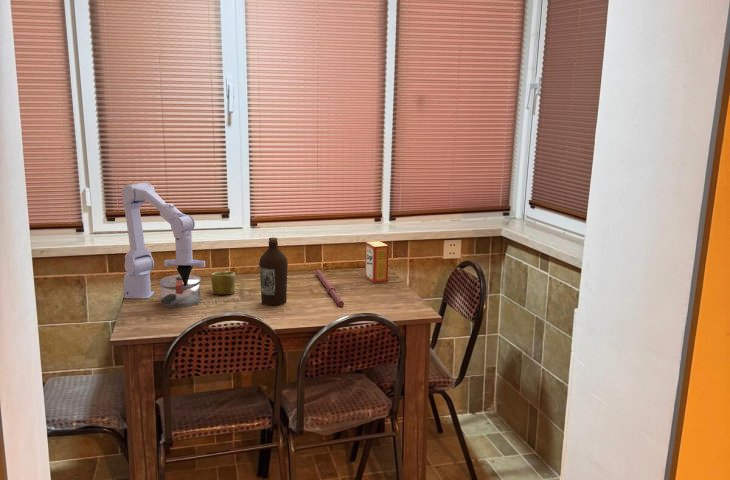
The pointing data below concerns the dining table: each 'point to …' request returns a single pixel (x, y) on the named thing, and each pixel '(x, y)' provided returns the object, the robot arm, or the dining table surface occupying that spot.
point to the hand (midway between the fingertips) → (185, 285)
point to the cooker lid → (179, 282)
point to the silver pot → (180, 296)
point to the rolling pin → (330, 288)
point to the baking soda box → (376, 261)
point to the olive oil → (273, 275)
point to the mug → (223, 282)
